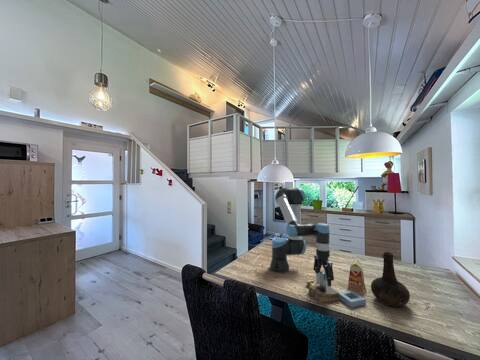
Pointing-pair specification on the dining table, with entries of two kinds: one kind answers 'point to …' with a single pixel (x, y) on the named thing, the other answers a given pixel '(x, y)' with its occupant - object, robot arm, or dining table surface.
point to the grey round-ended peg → (323, 281)
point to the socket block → (323, 294)
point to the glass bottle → (390, 285)
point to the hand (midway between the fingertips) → (323, 287)
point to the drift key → (310, 283)
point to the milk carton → (356, 278)
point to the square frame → (353, 302)
